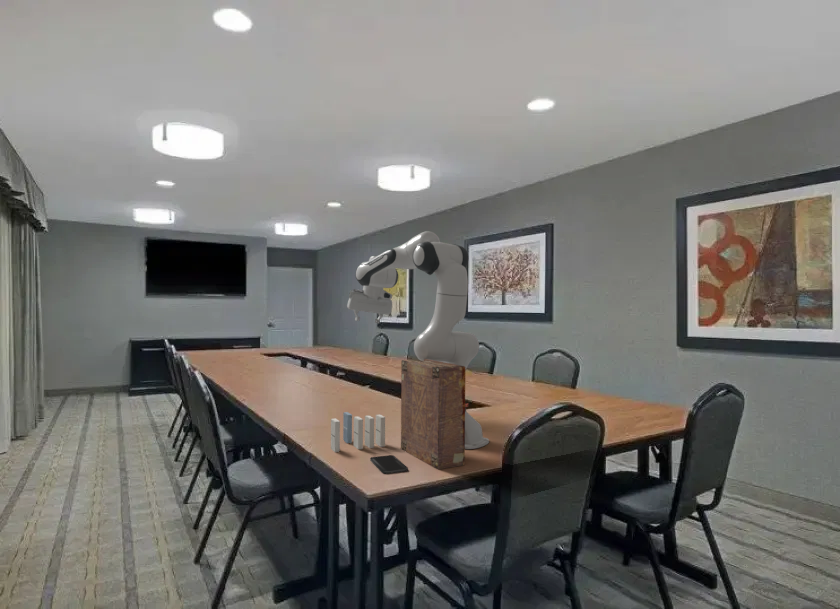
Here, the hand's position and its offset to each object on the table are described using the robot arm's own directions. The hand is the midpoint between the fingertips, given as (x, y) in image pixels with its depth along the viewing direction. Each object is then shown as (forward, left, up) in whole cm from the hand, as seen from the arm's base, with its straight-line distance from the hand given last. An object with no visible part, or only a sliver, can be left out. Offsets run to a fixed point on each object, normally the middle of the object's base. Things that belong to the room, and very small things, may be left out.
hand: (367, 322), depth 228 cm
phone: (-56, +51, -42) cm, 86 cm away
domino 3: (-35, +42, -41) cm, 69 cm away
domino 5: (-39, +35, -41) cm, 67 cm away
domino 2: (-27, +39, -41) cm, 63 cm away
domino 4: (-37, +39, -41) cm, 68 cm away
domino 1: (-31, +49, -41) cm, 71 cm away
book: (-61, +36, -41) cm, 82 cm away
